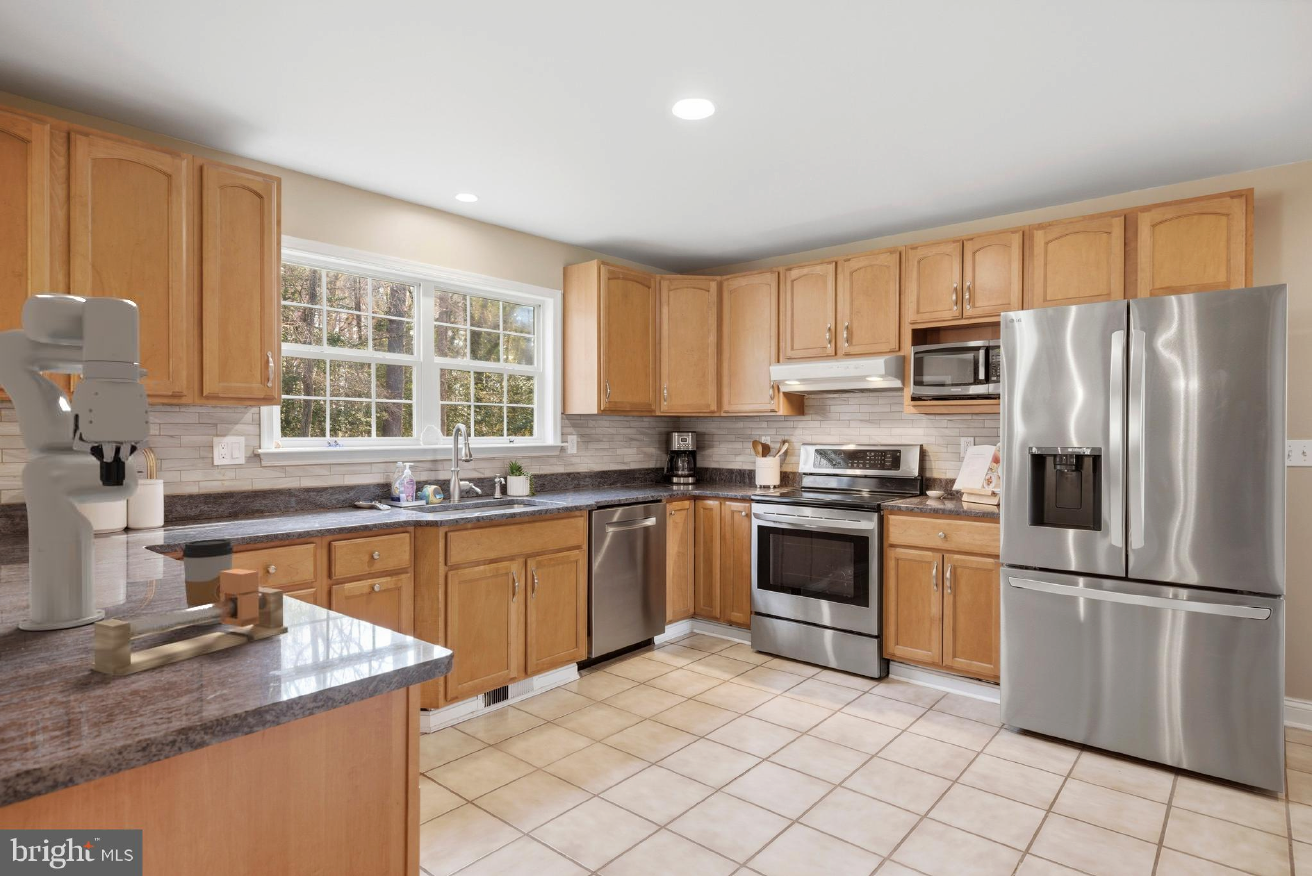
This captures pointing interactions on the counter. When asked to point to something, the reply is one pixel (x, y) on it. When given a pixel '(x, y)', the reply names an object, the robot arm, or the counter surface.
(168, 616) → the pipe
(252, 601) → the collar
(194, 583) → the coffee cup
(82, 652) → the counter surface
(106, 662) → the beige long frame
